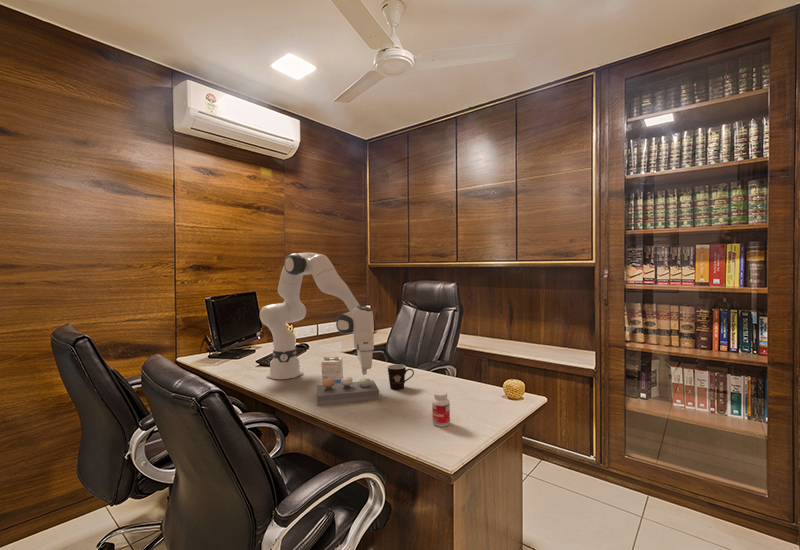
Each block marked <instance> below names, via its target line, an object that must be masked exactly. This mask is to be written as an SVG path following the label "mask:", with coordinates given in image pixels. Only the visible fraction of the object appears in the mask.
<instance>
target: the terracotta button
mask: <svg viewBox="0 0 800 550" xmlns="http://www.w3.org/2000/svg"><path fill="white" fill-rule="evenodd" d="M321 380H322V379H321ZM321 385H323V387H326V391H328V390H331V387H332V386H334V379H324V380H322V384H321Z"/></svg>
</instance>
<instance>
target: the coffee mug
mask: <svg viewBox="0 0 800 550" xmlns="http://www.w3.org/2000/svg"><path fill="white" fill-rule="evenodd" d="M406 368H407V366H406V365H405V364H398V363H396V364H389V365H387V372H388V379H389V380H388V382H389V386H390V387H389V388H390V390H393V391H401V390H403V389H405V383H406V382H407V381H409V380H410V379H411V378H412V377H413V376H414V374H415V373H414V369H413V368H407V369H406ZM408 371H412V374H411V375H410V376H409V377H408V378H406V374H407V373H408Z"/></svg>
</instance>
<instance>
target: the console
mask: <svg viewBox="0 0 800 550" xmlns="http://www.w3.org/2000/svg"><path fill="white" fill-rule="evenodd" d="M370 380H371V379H370ZM376 400H377V401H378V400H380V389H379V387H378V386H377V384H376V382H375V380H373V379H372V380H371V385H370V386H368V387H361V386H359V381H353V384H351V385H350V389H344V385H341V383H337V384H334V386H332V387H331V390H328V391H326V387H323V385H322V384H317V385H316V406H319V407H320V405H321V406H330V405H337V404H338V405H340V404H347V403H357V402H358V403H359V402H368V401H376Z"/></svg>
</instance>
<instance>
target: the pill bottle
mask: <svg viewBox="0 0 800 550" xmlns="http://www.w3.org/2000/svg"><path fill="white" fill-rule="evenodd" d="M433 397H434V398H433V399H432V401H431V402H432V403H431V404H432V406H431V407H432V409H431V410H432V413H431V414H432V415H431V417H432V424H433V425H434V426H436V427H439V428H445V427H448V426H450V424H451V411H450V410H451V409H450V407H451V406H450V404H451V402H450V400H449V398H448V392H446V391H444V390H443V391H442V390H436V391H435V392H433Z"/></svg>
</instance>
